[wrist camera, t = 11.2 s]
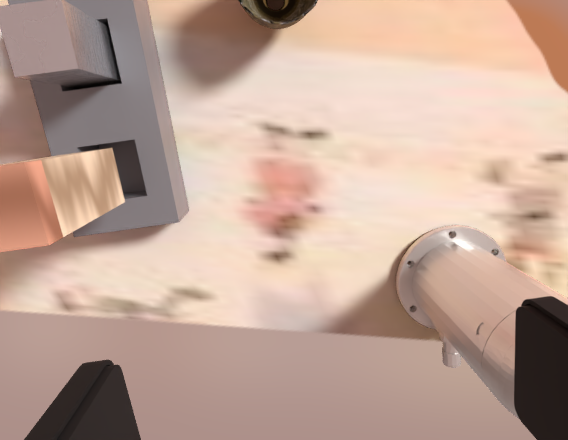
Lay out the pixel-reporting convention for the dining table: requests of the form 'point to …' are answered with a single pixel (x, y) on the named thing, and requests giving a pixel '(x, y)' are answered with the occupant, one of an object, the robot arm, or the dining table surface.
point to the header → (121, 121)
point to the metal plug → (58, 45)
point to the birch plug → (55, 196)
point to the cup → (277, 12)
